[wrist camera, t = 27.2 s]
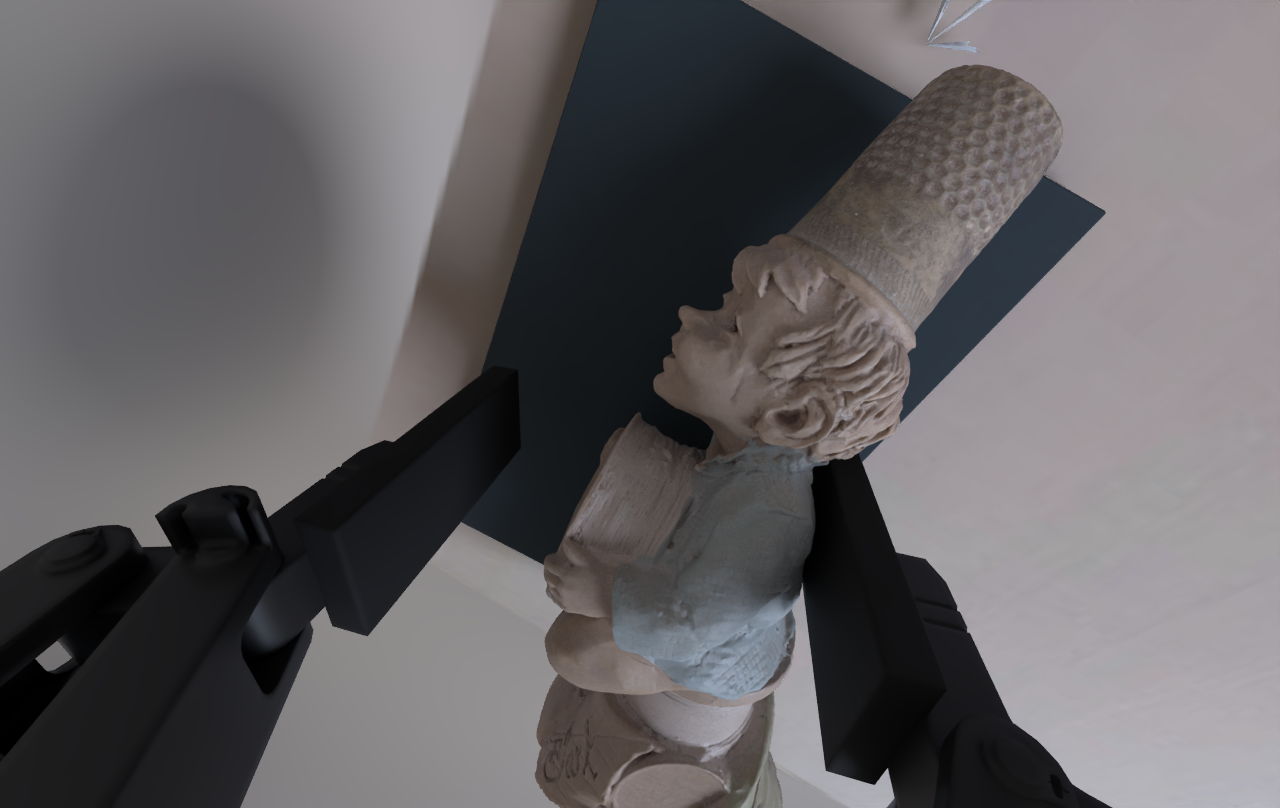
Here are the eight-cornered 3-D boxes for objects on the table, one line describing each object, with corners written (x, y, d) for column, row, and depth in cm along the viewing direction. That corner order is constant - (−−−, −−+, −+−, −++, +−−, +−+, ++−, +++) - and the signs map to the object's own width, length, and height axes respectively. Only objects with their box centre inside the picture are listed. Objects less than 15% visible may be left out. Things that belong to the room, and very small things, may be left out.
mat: (690, 620, 20) (688, 640, 19) (451, 495, 20) (438, 510, 19) (1079, 208, 11) (1108, 212, 10) (630, -51, 10) (619, -71, 9)
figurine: (765, 652, 19) (1071, 102, 9) (787, 951, 12) (2495, -32, 2) (568, 601, 20) (632, 28, 9) (478, 860, 13) (327, -308, 2)
